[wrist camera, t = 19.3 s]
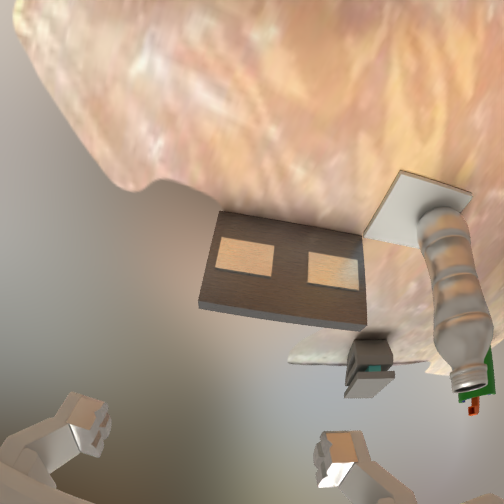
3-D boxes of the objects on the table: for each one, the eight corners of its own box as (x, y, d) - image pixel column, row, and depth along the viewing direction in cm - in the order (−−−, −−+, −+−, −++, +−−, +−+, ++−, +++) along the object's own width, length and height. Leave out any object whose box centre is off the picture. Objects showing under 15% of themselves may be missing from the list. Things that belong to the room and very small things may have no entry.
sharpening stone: (372, 361, 83) (372, 397, 77) (345, 361, 85) (344, 398, 78) (393, 329, 63) (394, 378, 57) (358, 329, 64) (357, 379, 58)
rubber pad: (400, 170, 30) (401, 174, 29) (471, 193, 30) (473, 196, 30) (363, 233, 39) (363, 237, 39) (427, 247, 39) (428, 250, 39)
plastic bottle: (440, 241, 37) (465, 396, 25) (402, 225, 35) (423, 396, 24) (472, 211, 31) (513, 377, 20) (435, 190, 30) (477, 377, 19)
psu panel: (219, 209, 39) (198, 299, 32) (362, 234, 39) (368, 324, 32) (218, 221, 41) (198, 308, 34) (356, 244, 41) (360, 331, 34)
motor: (464, 348, 71) (469, 418, 60) (447, 344, 69) (450, 419, 58) (493, 335, 63) (500, 409, 52) (477, 330, 61) (484, 411, 50)
